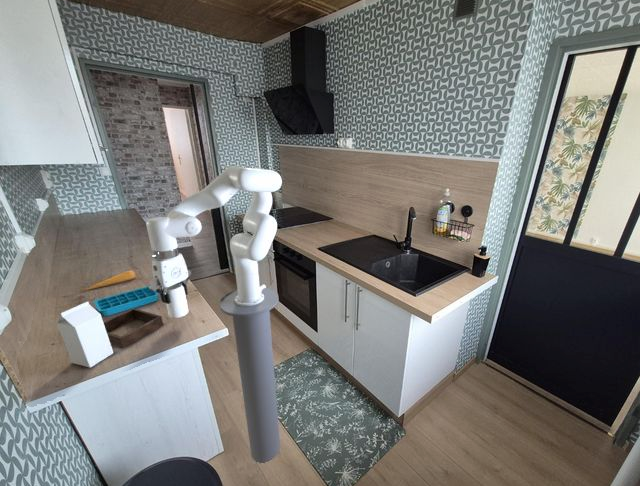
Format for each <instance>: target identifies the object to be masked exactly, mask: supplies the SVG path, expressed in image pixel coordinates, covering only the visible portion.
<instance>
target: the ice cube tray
mask: <svg viewBox="0 0 640 486" xmlns="http://www.w3.org/2000/svg"><path fill="white" fill-rule="evenodd" d="M150 286H151V285H147V286H143V287H139V288H136V289H132V290H128V291H125V292H124V291H123V292H121V293H117V294H112V295H109V296H105V297H102V298H99V299H95V300H94V301H93V304H94V306H95V309H96V311H97V312H99V313H100V314H101V315H102V316H103V317H107V316H111V315H114V314H117V313H121V312H126V311H128V310H130V309H132V308H135V309H136V308H137V307H142V306H144V305H148V304H151V303H154V302H156V301H158V296H159V295H160V293H157V292H155V291H152V290H150V289H149V287H150Z"/></svg>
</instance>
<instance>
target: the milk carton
mask: <svg viewBox="0 0 640 486" xmlns="http://www.w3.org/2000/svg"><path fill="white" fill-rule="evenodd" d="M89 302H90V301H85V302H83V303H81V304H79V305H76V306H73V307H72V308H69V309H67V310H64V311H62V312H60V316H61V317H60V318H59V319H58V320H57V322H55V323H56V326H57V328H58V331H59V333H60V336H61V338H62V341H63V344H64V346H65V349H66V351H67V353H68V356H69V358H70V361H71V363H72V364H75V365H79V366H83V367H86V368H89V369H90V368H92V367H95V366H96V365H97V364H99V363H100V362H102V361H103V360H105V359H107V358H108V357H109V356H112V355H113V354H114V351H113V347H112V344H110V341H109V338H108V335H107V332H106V329H105V326H104V323H103V322H104V321H103V317H102V313H101V312H99V311H98V310H97V309H96V308H95V307H93V306H92V305H91V304H90V303H89Z"/></svg>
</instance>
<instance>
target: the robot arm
mask: <svg viewBox="0 0 640 486" xmlns="http://www.w3.org/2000/svg"><path fill="white" fill-rule="evenodd" d="M282 184H283V180H282V177H281V175H280V174H279V173H278V172H277V171H275V170H272V169H271V170H270V169H264V168H257V167H256V168H255V167H254V168H249V167H244V166H238V165H231V166H228V167H226V168H225V169H224V170H223V171H222V172H221V173H220V174H218V175H217V176H216V177H215V178H214V179H213V180H212V181H211V182H209V183H208V184H207V186H205V187H204V188H203V189H202V190H199V191H197V192H195V193H194V194H191V195H190V196H187V197H186V198H184V199H182V200H181V201H180V202H179V203H177V204H176V206H174V207H173V208H172V209H171V210H170V211H169V212H168V213H167V215H166V216H156V217H151V218H148V219H147V220H146V222H145V225H146V231H147V234H148V239H149V244H150V248H151V254H149V257H150V259H152V262H151V269H152V270H151V271H152V276H153V281H152V282H151V284H150V285H149V286H150V287H149V289H150V290H152V291H155V292H157V293H159V295H160V300H161V302H162V303H164V304H166V303H167V304H170V297H169V294H168V293H167V289H168V287H170V286H173V285H175V284H177V283H181V284H182V286H183V287H184V290H185V295H186V296H188V294H189V293H188V287H187V285H188V284H189V282H188V281H189V280H190V276H191V274H192V270H189V269H188V266H187V264H186V260H185V258H184V256H183V254H182V253H181V252H180V251H179V246H178V240H177V239H179V238H191V237H196V236H197V235H198V234H200V232H202V222H201V221H200V220H199V219H198V218H197V216H198V215H200V214H201V213H204V212H206V211H209V210H213V209H218V208H221V207H224V206H225V205H226V204H227V203H228V201H229V200H230V199H232V198H233V196H235V195H236V194H237V193H238V192H239V191H240V190H241V191H245V192H251V195H252V196H251V200H250V203H249V206H248V208H247V210H246V212H245V215H244V217H243V220H242V227H243V228H244V230H246V231H248V232H249V233H251V234H252V235H250V234H248V233H243V232H241V233H236V234H234V235H233V236H232V237H231V238H230V241H229V249H230V253H231V256H232V260H233V265H234V273H235V282H236V288H237V289H236V290H238V296H236V298H235V302H236V304H238V305H240V306H253V305H256V304H259V303H260V302H262V301H263V300H264V294H263V293H261V291H262V289H264V288H267V286H266V285H265V284H264V283H263V284H262V285H261V284H260V275H259V264H258V262H260V261H262V260H263V259H265V257H266V256H267V255H268V252H269V250H270V248H271V246H272V244H273V241H274V238H275V236H276V234H277V231H278V223H277V219H275V217H274V216H272V215H271V214H270V212H271V209H272V206H273V195H272V193H274V192H278V191H279V190H280V189H281V187H282Z"/></svg>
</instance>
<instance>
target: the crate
mask: <svg viewBox="0 0 640 486" xmlns="http://www.w3.org/2000/svg"><path fill="white" fill-rule="evenodd" d="M134 319H137V320H140V321H144V322H146V323H144V324H142V325H139V326H138V327H135V328H134V329H132V330H131V331H129V332H127V333H125V334H123V335H122V336H121V335H118V334H115V333H111V332H110V331H112V330H114V329H116V328H119V327H120V326H123V325H125V324H126V323H128V322H130V321H133V320H134ZM103 323H104V326H105V329H106V332H107V335H108V338H109V341H110V344H111V345H113V346H116V347H119V348H122V349H124V348H126V347H128V346H130V345H131V344H133V343H135V342H137V341H138V340H140V339H142V338H144V337H145V336H147V335H149V334H151V333H153V332H154V331H156V330H157V329H159V328H161V327H162V326H164V321H163V317H162V315H159V314H155V313H153V312H148V311H146V310H141V309H139V308H136V307H135V308H131V309H128V310H125V311H123V312H122V313H120V314H118V315H115V316H113V317H111V318H109V319H107V320H104V321H103Z"/></svg>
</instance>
